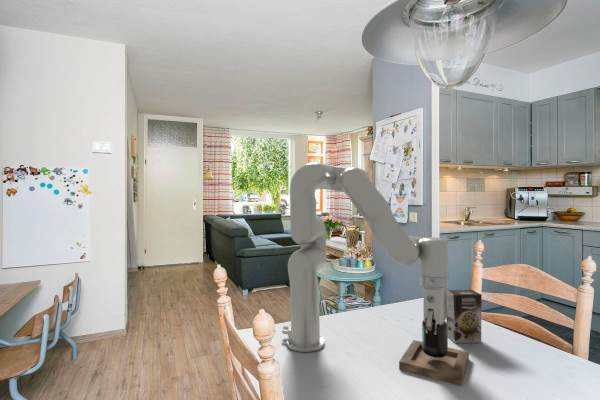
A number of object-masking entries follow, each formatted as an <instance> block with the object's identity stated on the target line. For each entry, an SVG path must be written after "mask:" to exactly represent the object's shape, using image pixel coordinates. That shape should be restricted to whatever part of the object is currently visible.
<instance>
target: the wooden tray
mask: <svg viewBox="0 0 600 400" xmlns="http://www.w3.org/2000/svg"><path fill="white" fill-rule="evenodd" d="M469 357H470V352H469V351H467V350H461V349H457V348H452V347H448V353H447V355H446V356H445V357H442V358H436V357H431V356H428V355H426V354H425V353H424V352H423V350H422V340H421V341H419V340H416V339H413V340H412V342H411V343H410V345H409V346H408V347H407V349H406V350H405V352H404V354H403V355H402V356H401V358H400V360H399V361H398V369H399V370H401V371H405V372H408V373H412V374H416V375H420V376H423V377H427V378H431V379H435V380H439V381H442V382H445V383H446V382H447V383H449V384H454V385H457V386H460V385H461V387H462V386H463V382H464V378H465V374H466V370H467V367H468V364H469V360H470V359H469Z"/></svg>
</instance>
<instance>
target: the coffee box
mask: <svg viewBox="0 0 600 400" xmlns="http://www.w3.org/2000/svg"><path fill="white" fill-rule="evenodd" d="M482 296H483V295H482V294H481V293H479V292H477V291H475V290H473V289H446V298H447V317H446V319H445V322H446V323H447V326H448V338H449V339H448V340H450V341H451V342H453V344H481V343H482V299H483V298H482Z"/></svg>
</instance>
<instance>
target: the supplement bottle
mask: <svg viewBox="0 0 600 400" xmlns="http://www.w3.org/2000/svg"><path fill="white" fill-rule="evenodd" d="M432 322H435V323H436V321H434V320H433V321H432ZM432 327H434V329H435V325H432ZM437 334H438V349H435V348H430V347H427V346H426V322H425V321H424V319H423V320H422V323H421V342H422V350H423V352H424V353H425V354H426V355H428V356H431V357H436V358H442V357H445V356H446V355H447V353H448V348H449V346H448V343H449V342H448V341H449V339H448V326H447V323H446V320H445V321H444V323H443V324H442V325H439V324H438V326H437Z"/></svg>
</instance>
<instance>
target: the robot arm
mask: <svg viewBox="0 0 600 400" xmlns="http://www.w3.org/2000/svg"><path fill="white" fill-rule="evenodd" d="M317 190H329V191H336V192H339V193H340V192H341V193H344V195H346V197H347V198H348V199H349V200H350V202H351V203H352V205H353V206H354V207H355V208H356V209H357V211H358V212H359V214H360V215H361V216H362V218H364V221H365V222H366V224H367V226H368V227H369V229H370V230H371V232H372V233H373V235H374V237H375V238H376V240H377V241H378V243H379V244H380V245H381V247H382V248H383V249H384V250H385V252H386V253H387V254H388V255H389V256H390V258H391V259H392V260H393V261H394V262H395V263H396V264H397V265H400V266H403V267H408V266H412V265H413V264H415V263H416V262H417V261H418V260H419V263H420V265H419V266H420V267H419V269H420V273H419V274H420V277H419V278H420V279H419V280H420V284H419V285H420V286H421V287H422V288H423V294H422V295H423V305H422V306H423V308H422V311H423V320H424V321H425V322H426V346H427V347H430V348H435V349H438V334H437V326H438V324H439V325H442V324H443V323H444V321H445V322H446V319H447V289H448V288H449V285H450V284H449V242H448V241H447V239H445V238H444V237H435V236H433V237H432V236H429V237H428V236H427V237H420V236H415V235H414V236H413V235H408V234H407V233H406V231H405V230H404V229H403V228H402V226H401V225H400V224H399V222H398V221H397V219H396V217H395V216H394V213H393V211H392V209H391V205H390V204H389V202H388V201H387V200H386V198H385V197H384V196H383V195H382V194H381V192H380V191H379V190H378V189H377V188H376V186H375V185H374V184H373V182H372V181H371V178H370V176H369V174H368V173H367V171H366V170H364V169H362V168H360V167H359V168H358V167H355V166H353V167H352V166H351V167H343V166H339V165H338V166H336V165H331V164H326V163H323V162H318V161H317V162H314V161H313V162H312V161H311V162H309V163H306V164H304V165H302V166H301V167H299V168H298V169H297V170H296V171H295V173H294V174H293V175H292V177H291V180H290V185H289V196H290V197H289V198H290V199H289V200H290V202H289V203H290V206H289V207H290V209H289V210H290V211H289V215H290V216H289V217H290V218H289V219H290V223H289V224H290V225H289V226H290V237H291V239H292V240H293V242H294V243H296V244H297V245H300V248H299V249H297V250H295V251H294V252H292V254H291V255H290V256H289V259H288V261H287V273H288V281H289V289H290V290H289V292H290V293H289V295H290V298H289V299H290V326H289V325H283V327H282V331H281V333H282V334H284V335H287V336H288V337H287V338H286V341H285V342H286V346H287V347H288V348H289V350H292V351H295V352H300V353H310V352H311V353H312V352H315V351H319V350H320V349H322V348H323V347H324V346H325V345H326V344H325V342H326V341H325V338H324V337H323V336H322V335H320V332H321V331H320V330H321V329H320V323H321V322H320V320H321V319H320V286H319V278H318V272H319V271H320V270H322V269H323V268H324V266H325V265H326V261H327V228H326V225H325V221H324V220H323V219H322V218H321V217H320V216H319V215H317V200H316V191H317ZM433 320H434V321H436V323H435V322H432V321H433ZM432 325H435V329H434V327H432Z"/></svg>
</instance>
